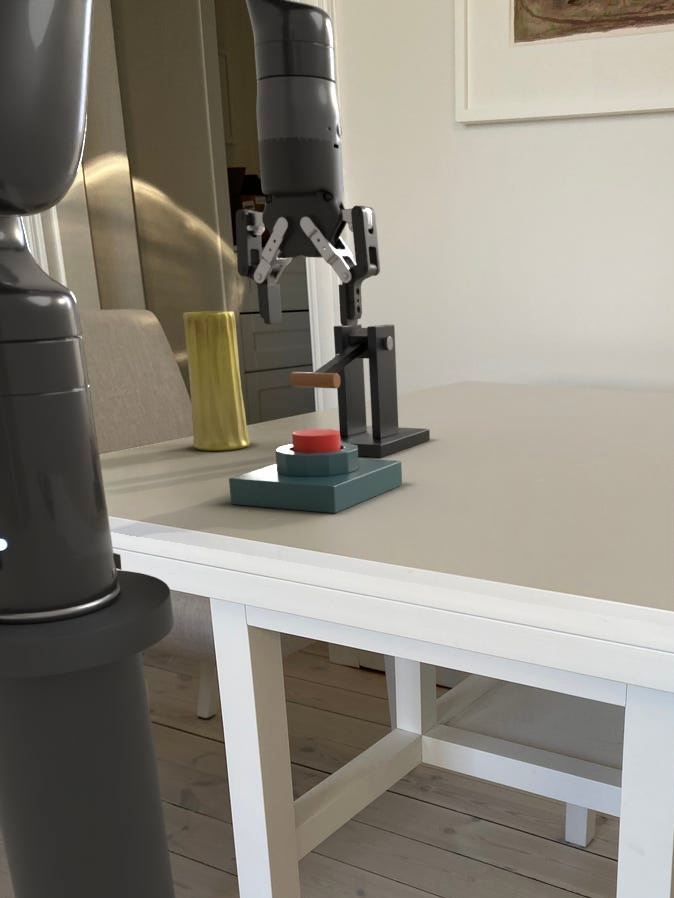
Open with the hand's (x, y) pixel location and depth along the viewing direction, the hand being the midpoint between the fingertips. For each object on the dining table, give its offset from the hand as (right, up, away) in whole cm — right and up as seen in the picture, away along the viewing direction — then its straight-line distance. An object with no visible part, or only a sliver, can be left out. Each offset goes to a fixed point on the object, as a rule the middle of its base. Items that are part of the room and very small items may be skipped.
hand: (310, 324), depth 96 cm
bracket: (+4, -9, +14) cm, 17 cm away
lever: (+2, -3, +7) cm, 7 cm away
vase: (-12, -9, +15) cm, 21 cm away
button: (+2, -15, -11) cm, 19 cm away
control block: (+2, -18, -10) cm, 21 cm away
